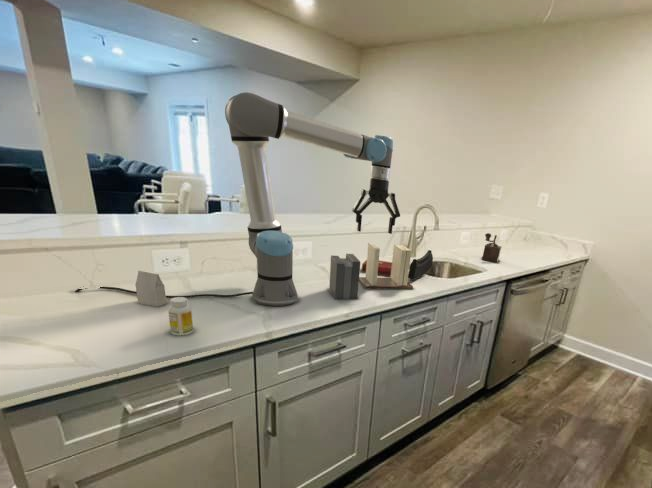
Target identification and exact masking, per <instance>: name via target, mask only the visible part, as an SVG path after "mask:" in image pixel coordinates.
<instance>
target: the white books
mask: <svg viewBox="0 0 652 488" xmlns="http://www.w3.org/2000/svg"><path fill="white" fill-rule="evenodd" d="M411 256H412V250H411V249H410V248H408V247H407V246H405V245H404V244H395V243H394V244H393V250H392V257H391V258H392V259H391V262H392V267H391V276H389V278H390V279H392V280H393V281H394V282H395V283H396V284H397V285H398V286H402V285H403V286H407V282H409V279H408V274H409V269H410V265H411Z"/></svg>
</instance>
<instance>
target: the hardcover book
mask: <svg viewBox="0 0 652 488" xmlns="http://www.w3.org/2000/svg"><path fill="white" fill-rule="evenodd" d="M366 265H367V259H365V260H364V261H363V262H362V264H361V272H364V273H366ZM391 267H392V261H385V260H380V259H379V264H378V274H377V275H383V276H389V277H390V276H391Z"/></svg>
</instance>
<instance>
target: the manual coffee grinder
mask: <svg viewBox="0 0 652 488" xmlns="http://www.w3.org/2000/svg"><path fill="white" fill-rule="evenodd" d="M484 236H485V241H486V242H488V243H486V244H485V245H484V249H483V252H482V253H483V254H482V256H481V260H483V261H486V262H491V263H496V264H497V263H498V262H499V260H500V256H501V251H502V246H501V245H498V244H497V243H496V240H497V237H498V236H497V235H496V234H495V235H494V237H493V240H491V238H492V234H491V233H489V232H488V233H485V234H484Z"/></svg>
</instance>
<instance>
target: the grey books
mask: <svg viewBox="0 0 652 488" xmlns="http://www.w3.org/2000/svg"><path fill="white" fill-rule="evenodd" d="M329 268H330V269H329V288H328V289H329V291H330V293H331V294H332V296H333V298H334V300H358V299H359V298H358V297H359V285H360V281H359V277H360V272H361V261H360V259H359V258H358V257H356V255H355V254H354V253H346V254H345V258H343V257H341V258H340V256H339V255H330V267H329Z"/></svg>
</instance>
